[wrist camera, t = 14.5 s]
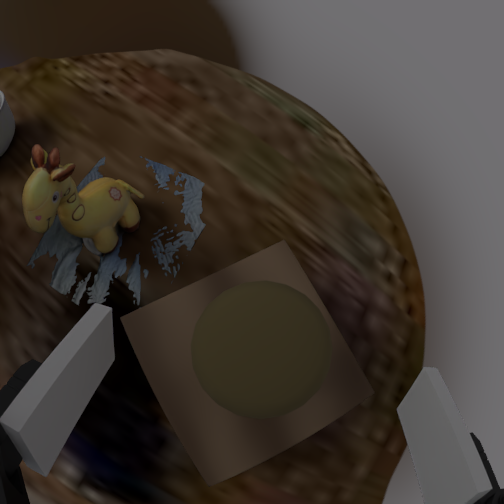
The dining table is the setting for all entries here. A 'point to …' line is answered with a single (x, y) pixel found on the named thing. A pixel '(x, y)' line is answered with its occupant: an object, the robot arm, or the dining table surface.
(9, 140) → the teacup
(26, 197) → the stuffed giraffe
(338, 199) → the dining table surface
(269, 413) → the cork
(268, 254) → the walnut block
